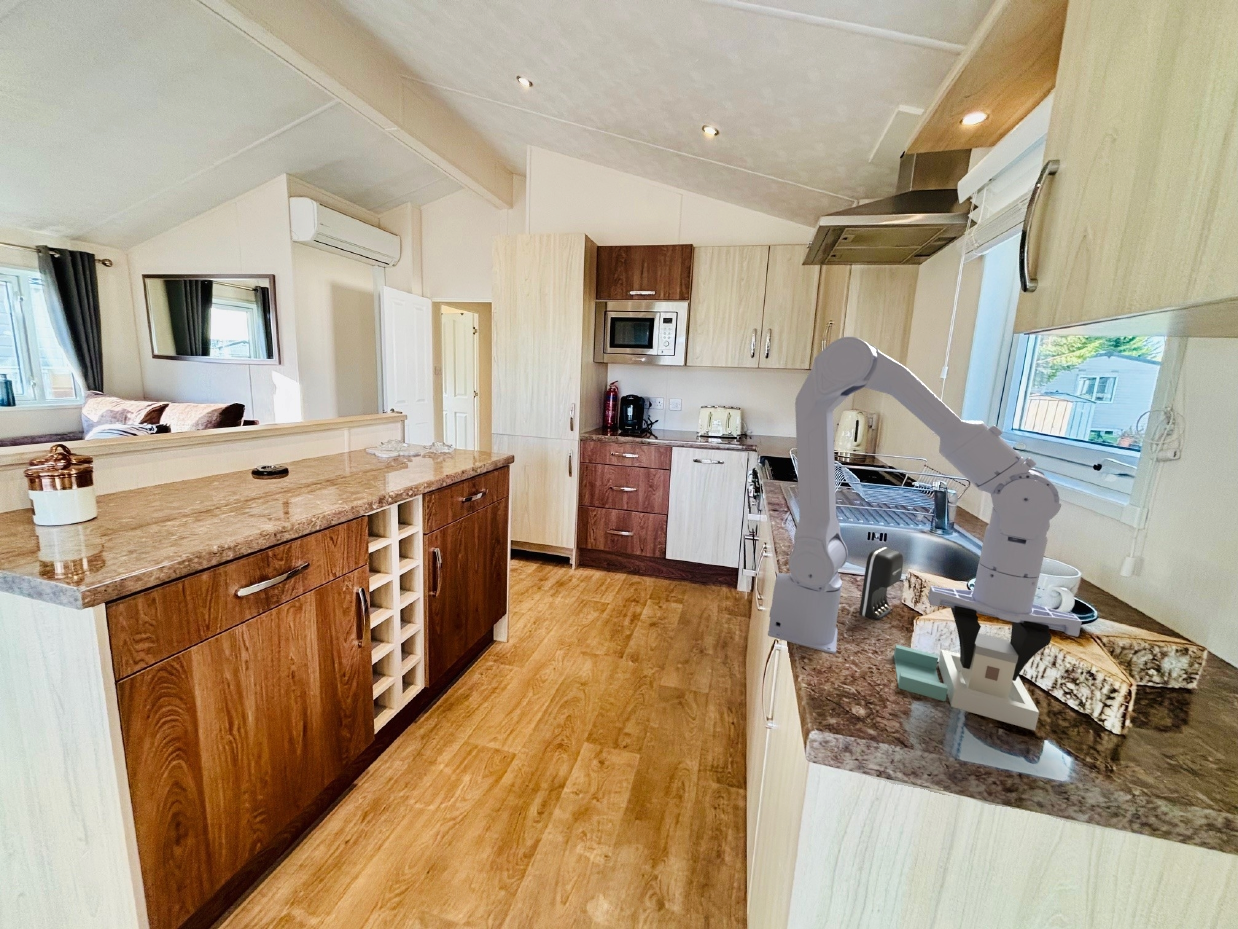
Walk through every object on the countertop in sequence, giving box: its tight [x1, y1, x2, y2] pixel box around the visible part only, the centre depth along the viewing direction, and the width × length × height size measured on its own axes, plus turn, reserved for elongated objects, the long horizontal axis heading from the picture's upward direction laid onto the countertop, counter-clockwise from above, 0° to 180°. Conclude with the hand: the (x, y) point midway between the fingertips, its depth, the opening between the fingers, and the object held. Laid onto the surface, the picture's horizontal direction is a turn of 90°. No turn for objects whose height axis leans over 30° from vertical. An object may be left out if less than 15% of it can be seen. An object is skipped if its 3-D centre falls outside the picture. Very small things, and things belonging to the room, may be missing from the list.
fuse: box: [961, 632, 1018, 699], centre depth 59 cm, size 4×4×6 cm
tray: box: [937, 649, 1040, 731], centre depth 60 cm, size 8×10×3 cm
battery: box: [858, 546, 904, 621], centre depth 80 cm, size 7×4×11 cm, turn 131°
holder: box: [893, 644, 948, 702], centre depth 63 cm, size 8×5×2 cm, turn 154°
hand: (986, 670), depth 60 cm, fingers closed on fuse, 4 cm apart
